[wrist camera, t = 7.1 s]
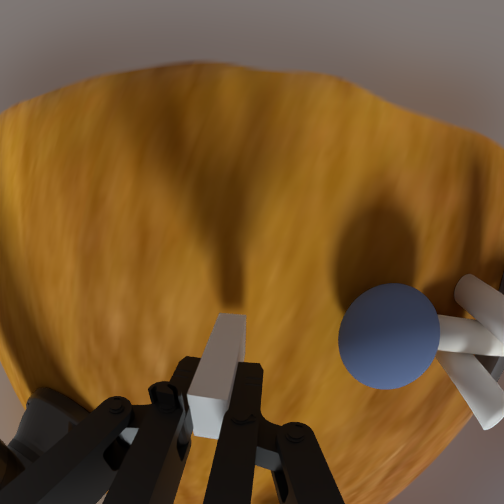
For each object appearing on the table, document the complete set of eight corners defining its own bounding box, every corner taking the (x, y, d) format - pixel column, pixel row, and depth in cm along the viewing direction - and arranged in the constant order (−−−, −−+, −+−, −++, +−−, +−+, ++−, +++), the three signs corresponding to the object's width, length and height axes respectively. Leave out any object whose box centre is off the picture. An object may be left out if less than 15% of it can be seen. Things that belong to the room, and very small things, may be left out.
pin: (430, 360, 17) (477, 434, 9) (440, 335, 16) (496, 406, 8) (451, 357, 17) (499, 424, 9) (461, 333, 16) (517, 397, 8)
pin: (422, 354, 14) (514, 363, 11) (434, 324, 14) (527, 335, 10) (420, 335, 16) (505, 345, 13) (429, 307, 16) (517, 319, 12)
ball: (442, 378, 12) (377, 347, 18) (464, 286, 11) (387, 268, 17) (383, 426, 10) (313, 375, 15) (413, 314, 9) (319, 281, 14)
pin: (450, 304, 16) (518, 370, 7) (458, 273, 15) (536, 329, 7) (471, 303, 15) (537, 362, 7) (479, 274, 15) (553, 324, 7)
